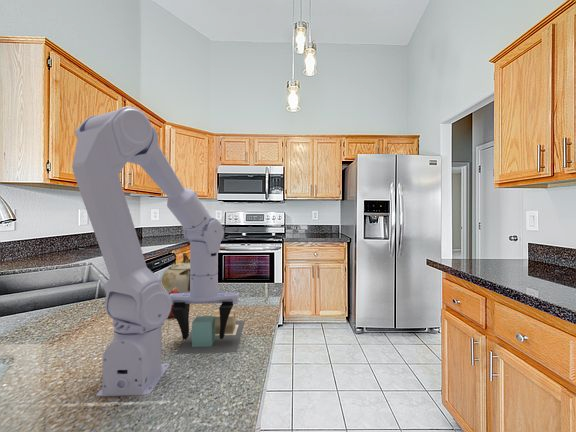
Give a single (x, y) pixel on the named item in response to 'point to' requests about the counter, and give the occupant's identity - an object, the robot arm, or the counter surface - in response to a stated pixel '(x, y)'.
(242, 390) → the counter surface
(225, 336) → the mat
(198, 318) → the teal block
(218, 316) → the maple block
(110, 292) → the robot arm
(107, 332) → the counter surface
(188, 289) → the cream rounded vessel
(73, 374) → the counter surface
